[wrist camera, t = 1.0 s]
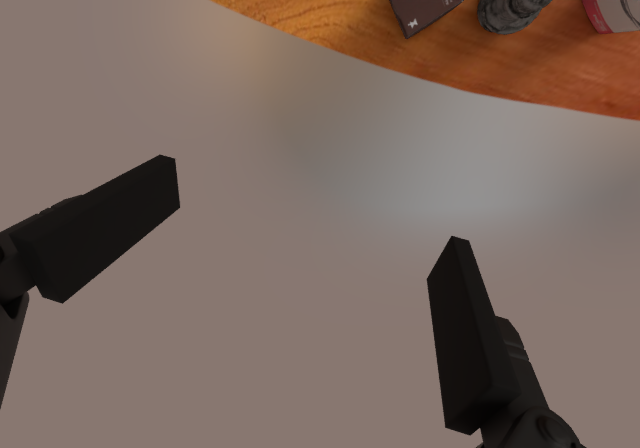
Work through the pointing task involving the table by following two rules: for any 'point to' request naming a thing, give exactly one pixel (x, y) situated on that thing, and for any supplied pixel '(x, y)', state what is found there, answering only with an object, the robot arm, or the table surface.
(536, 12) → the salt shaker
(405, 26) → the box
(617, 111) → the table surface
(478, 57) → the table surface
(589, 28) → the table surface
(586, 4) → the ink box
